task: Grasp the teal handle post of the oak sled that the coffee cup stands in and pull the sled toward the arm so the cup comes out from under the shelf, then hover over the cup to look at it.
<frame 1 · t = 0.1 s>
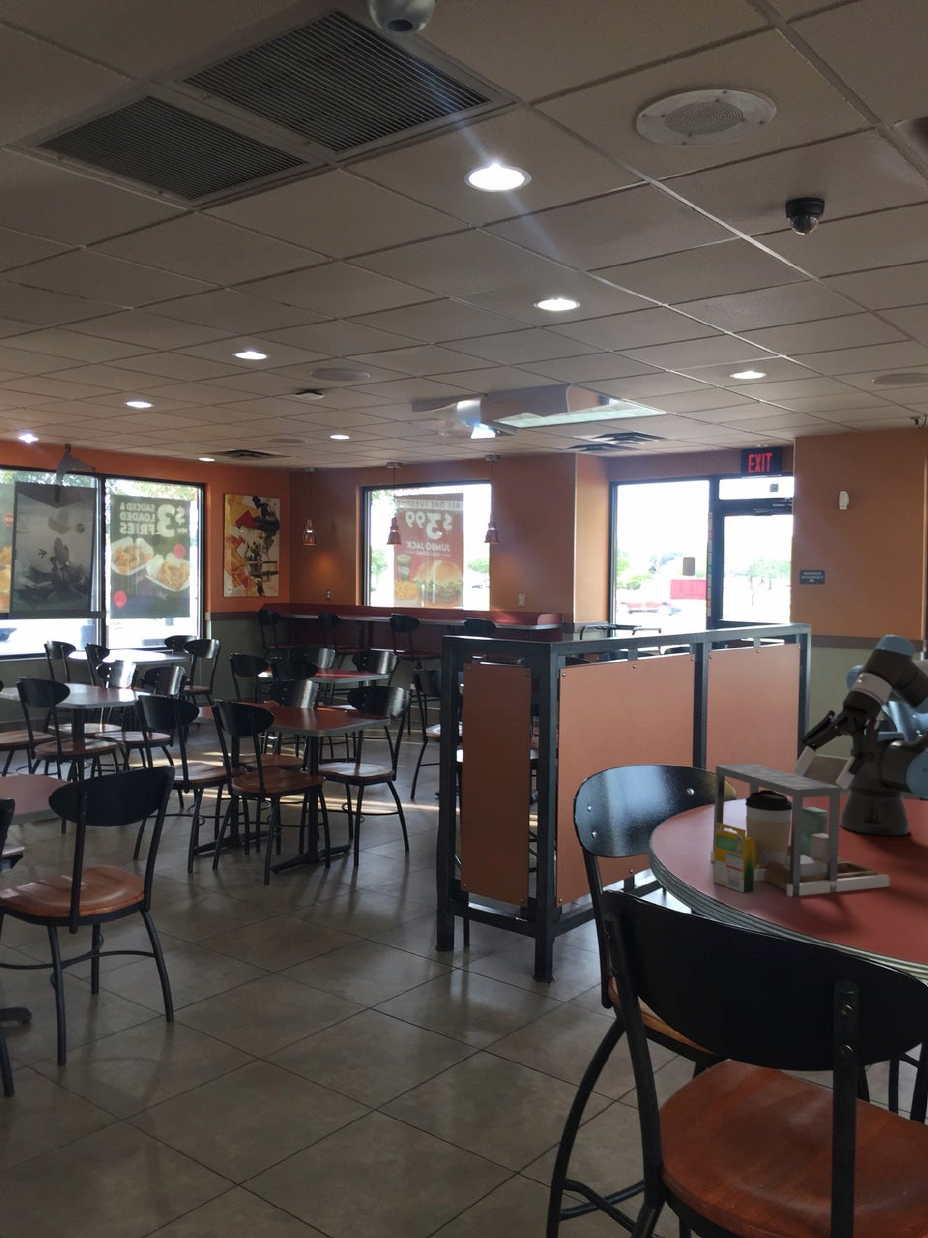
hand: (818, 780, 211), 15 cm above the table, tool tilted 35°, fingers open, 13 cm apart
lane rails: (796, 872, 194), on the table
shelf: (771, 875, 192), on the table
crayon box: (733, 888, 184), on the table
coffee cup: (766, 868, 197), resting in sled a
sled b: (821, 859, 187), point 5 cm above the table, slide at 0.0 cm
grey block: (801, 885, 186), resting in sled b
sled a: (781, 838, 198), point 6 cm above the table, slide at 0.0 cm
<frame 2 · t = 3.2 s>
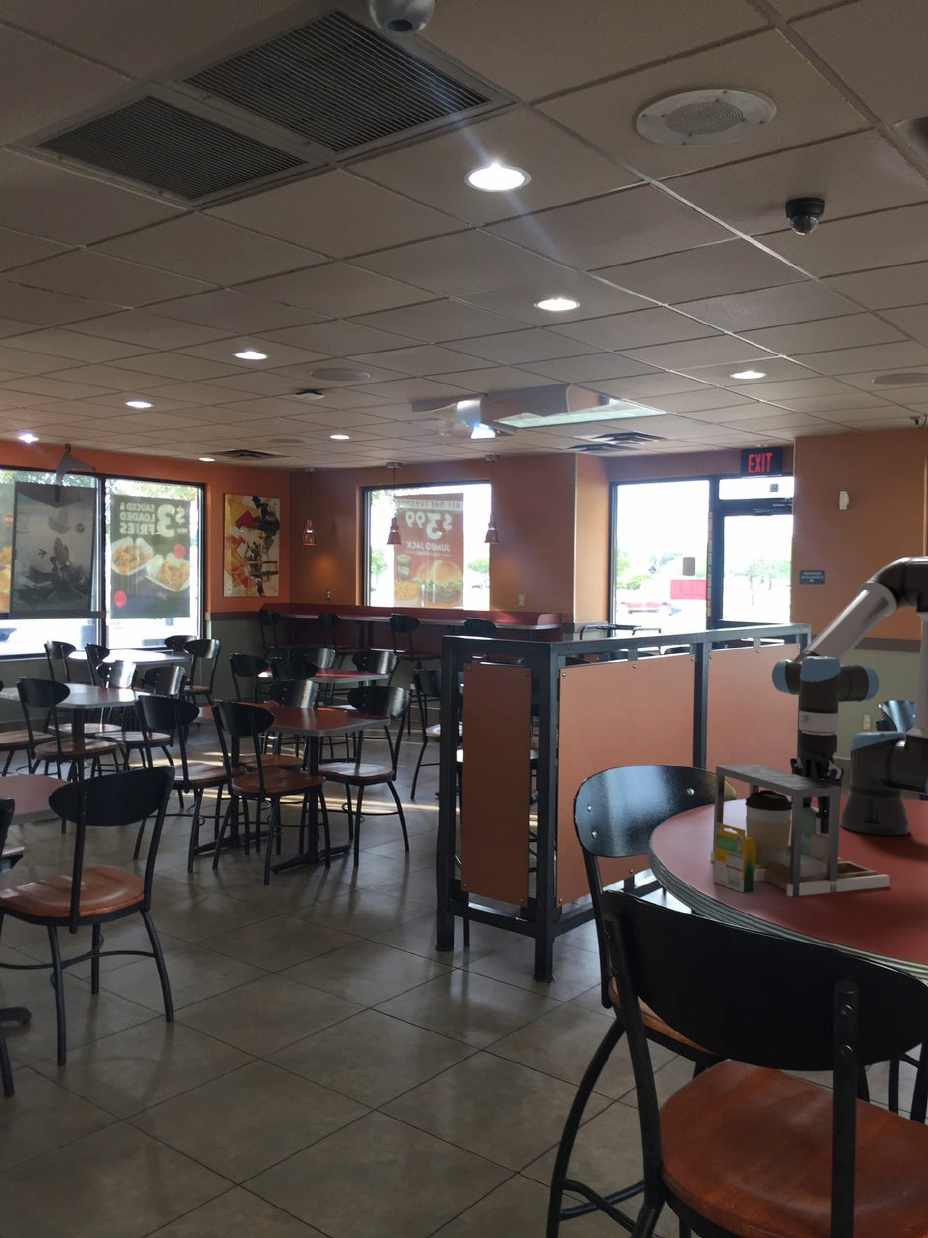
hand: (813, 845, 201), 4 cm above the table, tool pointing down, fingers closed on sled a, 4 cm apart
sled a: (781, 838, 198), point 6 cm above the table, slide at 0.0 cm, touching gripper
everything else where it was.
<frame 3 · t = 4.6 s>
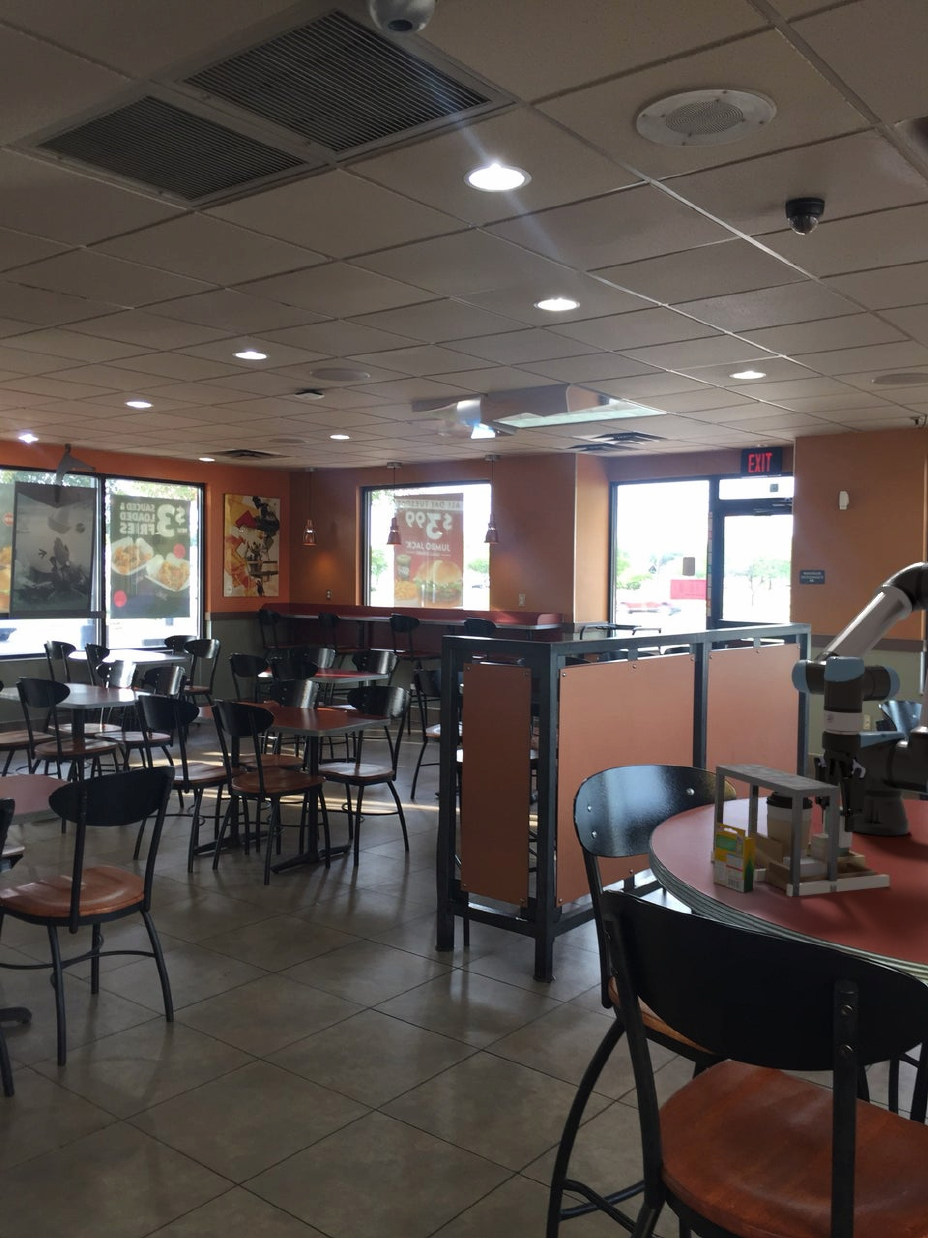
hand: (836, 843, 203), 4 cm above the table, tool pointing down, fingers closed on sled a, 4 cm apart
coffee cup: (786, 866, 199), resting in sled a
sled a: (805, 836, 200), point 6 cm above the table, slide at 6.0 cm, touching coffee cup, gripper
everything else where it was.
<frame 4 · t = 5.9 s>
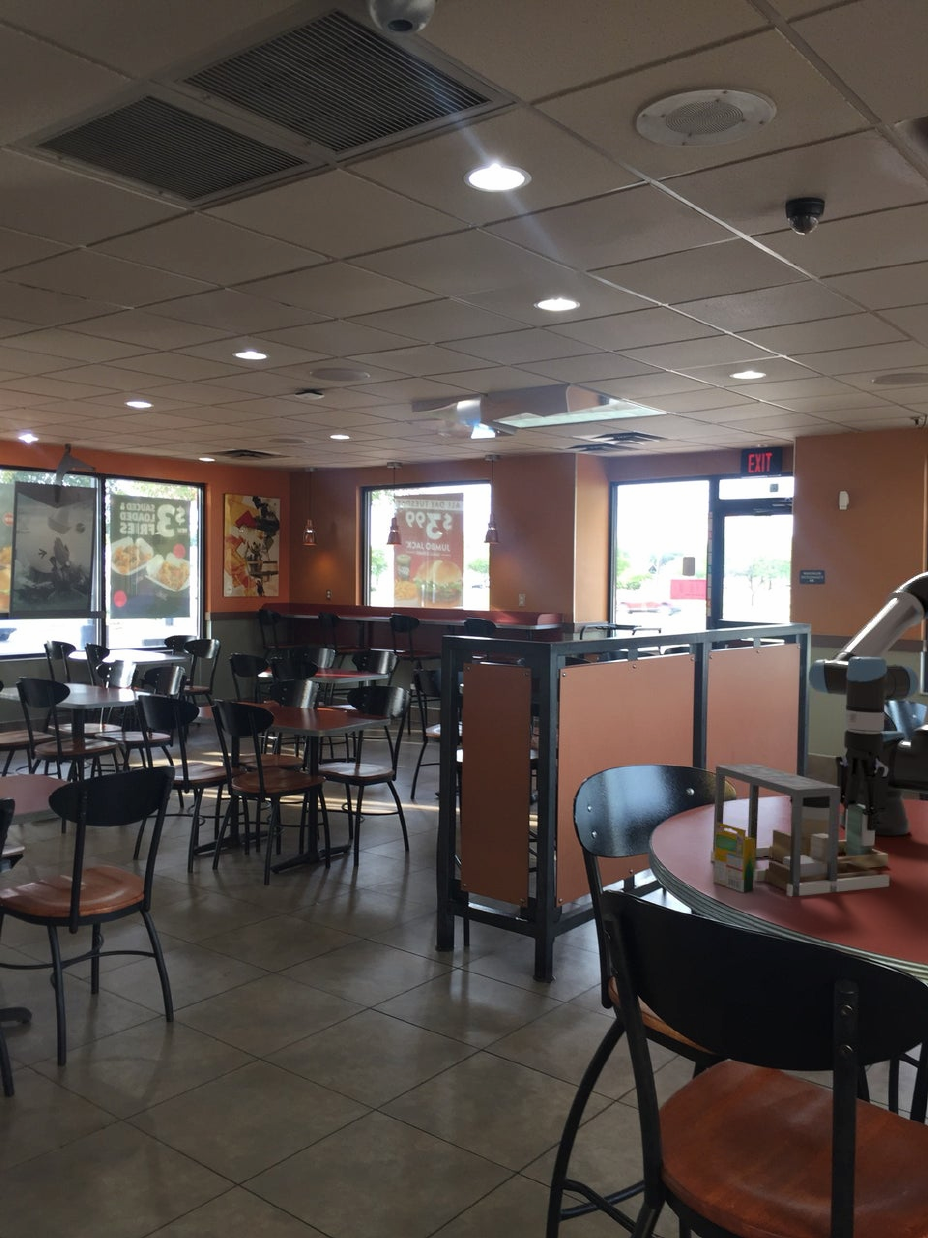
hand: (859, 842, 206), 4 cm above the table, tool pointing down, fingers closed on sled a, 4 cm apart
coffee cup: (810, 864, 201), resting in sled a
sled a: (828, 835, 203), point 6 cm above the table, slide at 11.9 cm, touching coffee cup, gripper
everything else where it was.
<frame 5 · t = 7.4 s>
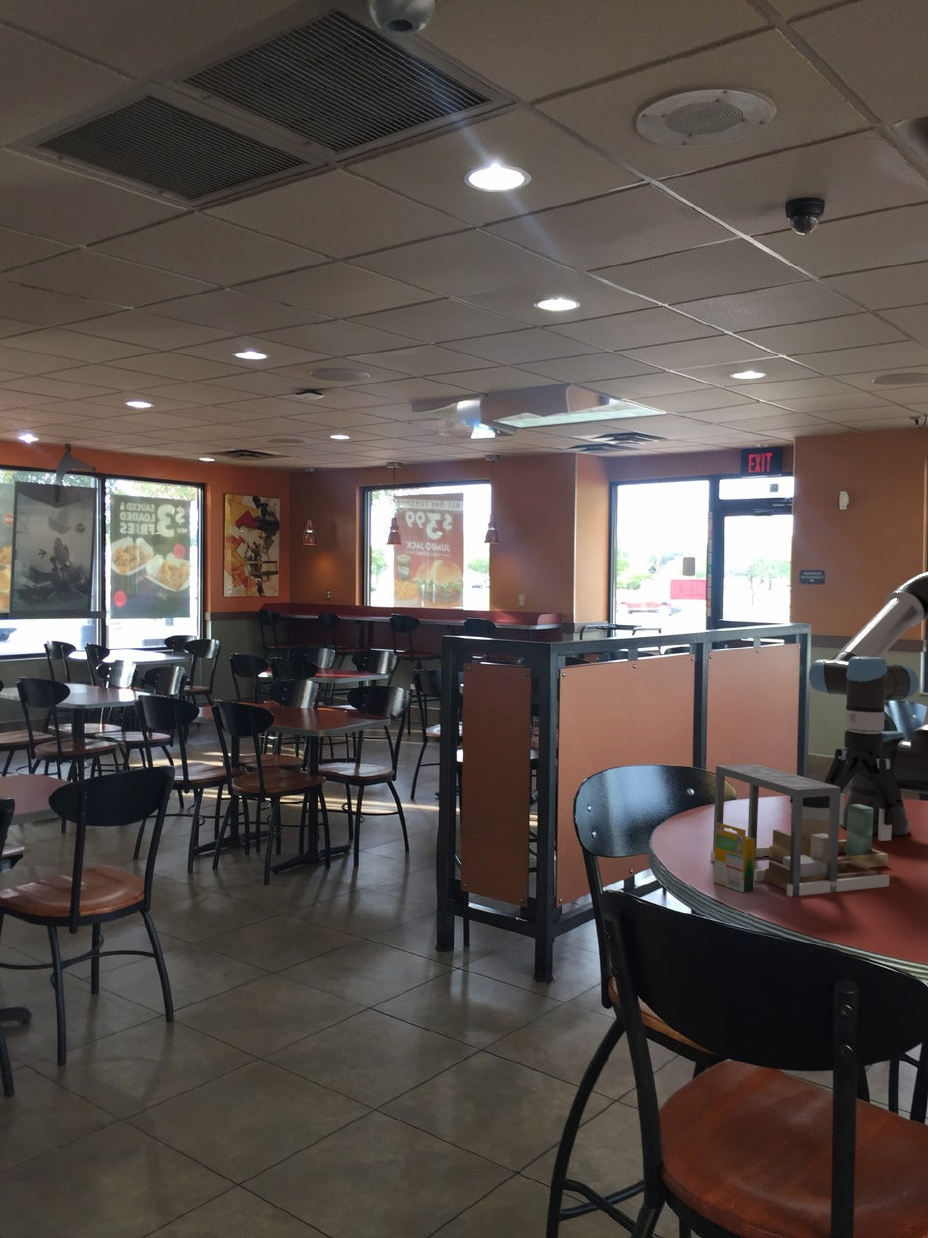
hand: (859, 832, 205), 6 cm above the table, tool pointing down, fingers open, 13 cm apart
coffee cup: (810, 864, 201), resting in sled a
sled a: (828, 835, 203), point 6 cm above the table, slide at 11.9 cm
everything else where it was.
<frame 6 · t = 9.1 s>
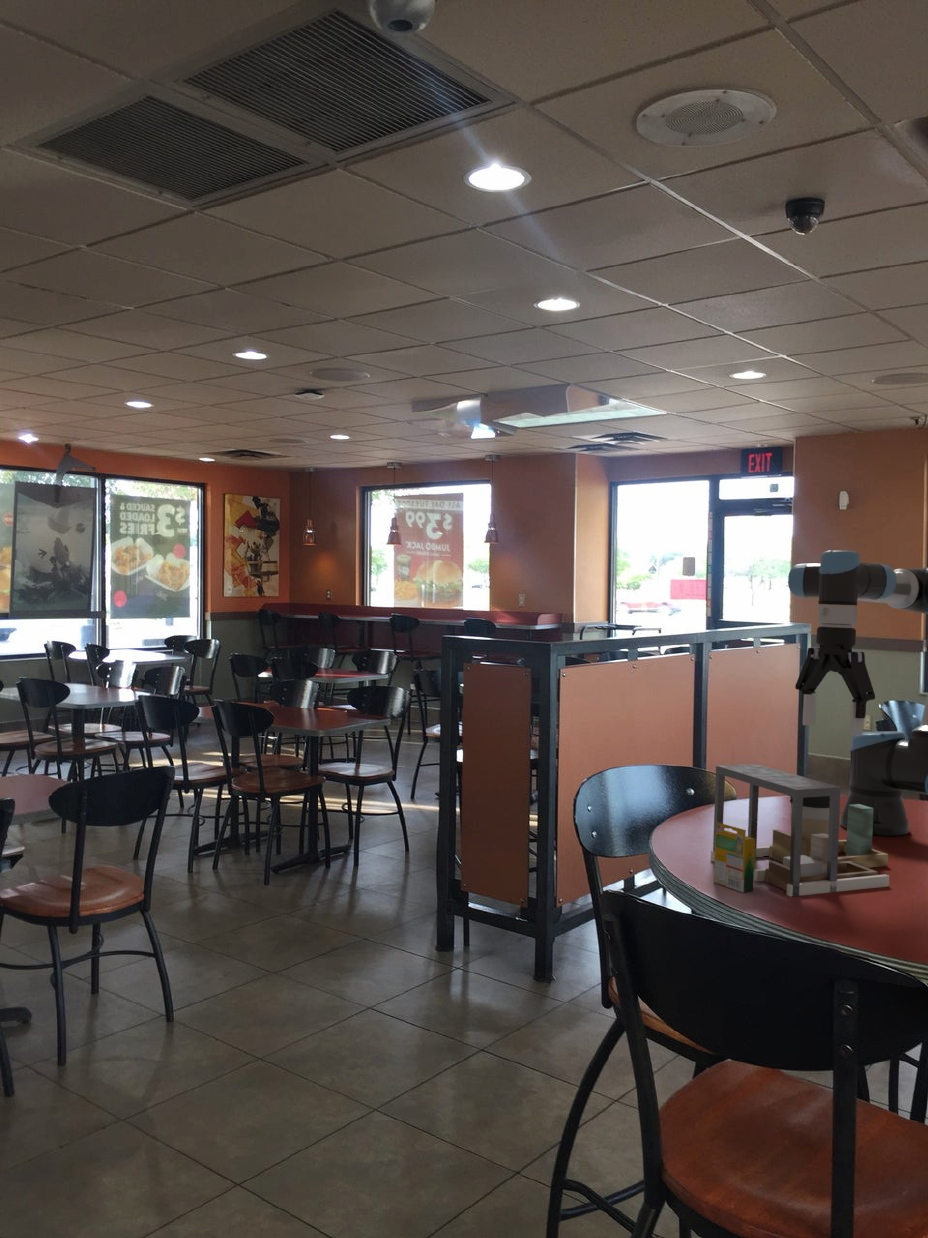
hand: (831, 729, 202), 27 cm above the table, tool pointing down, fingers open, 13 cm apart
nothing on the table moved.
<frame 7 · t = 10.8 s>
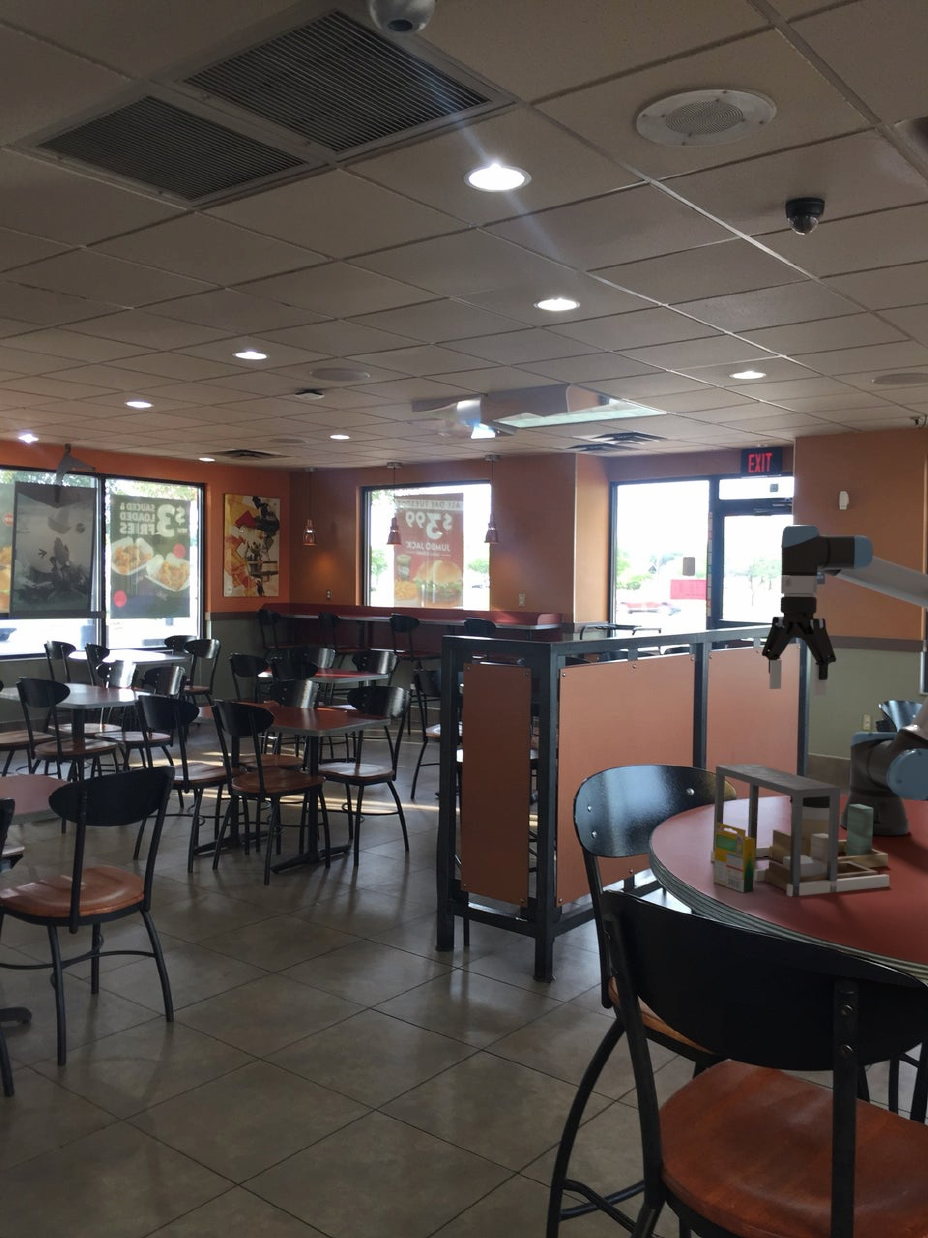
hand: (796, 692, 217), 33 cm above the table, tool pointing down, fingers open, 13 cm apart
nothing on the table moved.
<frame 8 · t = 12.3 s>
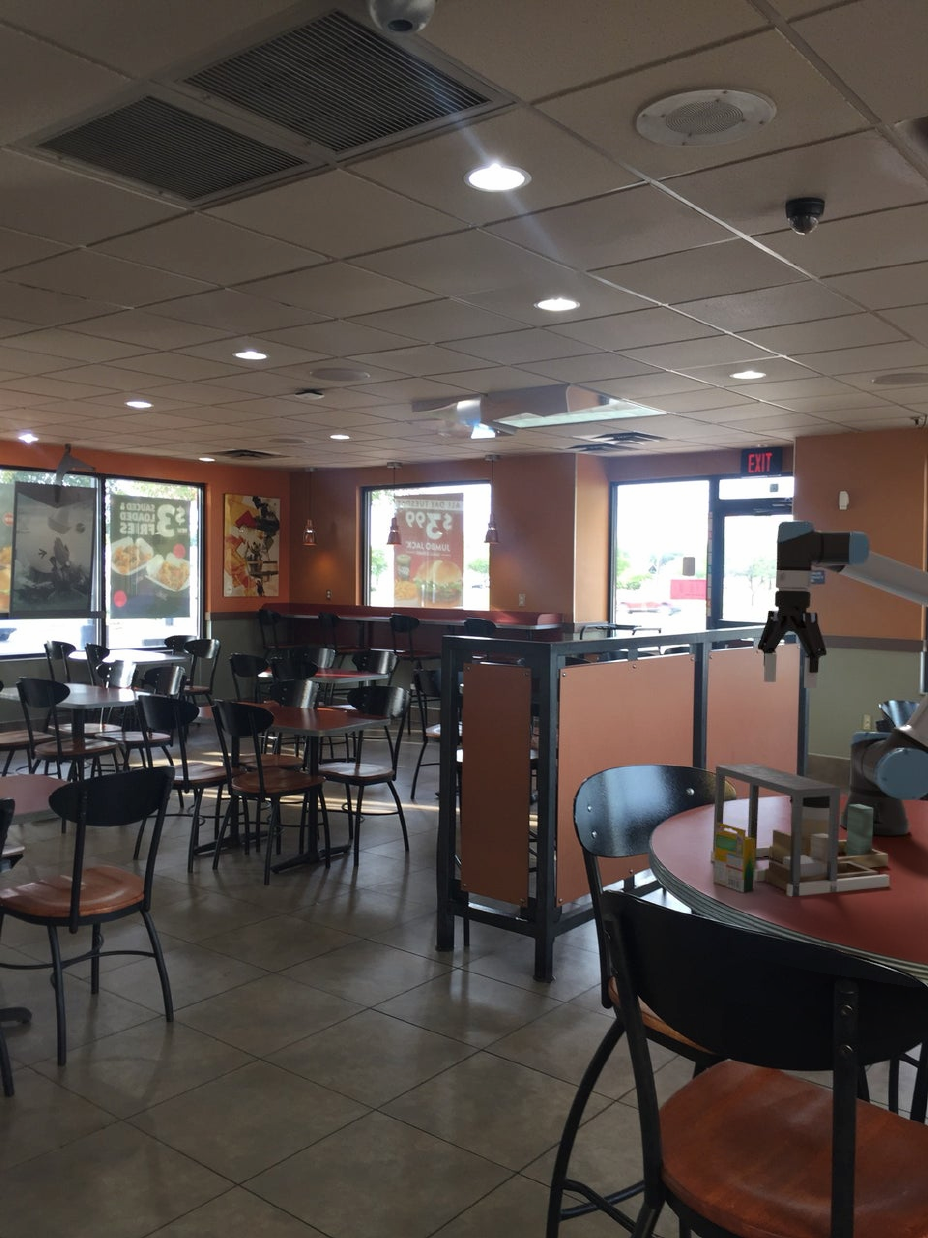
hand: (789, 684, 221), 35 cm above the table, tool pointing down, fingers open, 13 cm apart
nothing on the table moved.
at the end: sled a slide at 11.9 cm; coffee cup inside the target area (1.1 cm from its centre), resting in sled a; coffee cup tilted 0° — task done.
